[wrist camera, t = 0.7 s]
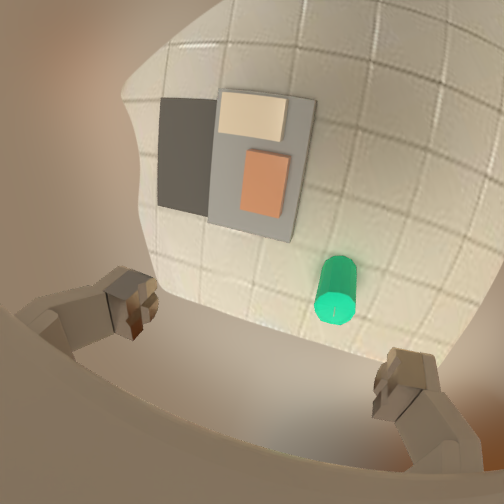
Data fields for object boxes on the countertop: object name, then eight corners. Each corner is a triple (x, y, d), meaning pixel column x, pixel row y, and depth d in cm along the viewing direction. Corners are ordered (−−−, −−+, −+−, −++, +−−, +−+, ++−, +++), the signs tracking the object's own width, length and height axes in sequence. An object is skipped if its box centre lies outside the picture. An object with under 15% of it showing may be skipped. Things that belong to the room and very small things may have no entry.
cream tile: (223, 131, 42) (217, 132, 40) (227, 92, 39) (222, 91, 37) (283, 140, 40) (279, 141, 38) (289, 99, 37) (286, 99, 35)
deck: (225, 88, 41) (218, 88, 39) (316, 100, 38) (314, 100, 36) (213, 217, 52) (207, 222, 50) (292, 236, 49) (289, 243, 47)
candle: (325, 252, 48) (316, 293, 38) (360, 259, 47) (360, 303, 37) (319, 282, 51) (308, 327, 41) (352, 289, 50) (349, 336, 40)
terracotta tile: (250, 148, 42) (246, 150, 40) (291, 156, 40) (288, 158, 39) (244, 205, 46) (239, 209, 45) (281, 213, 45) (278, 218, 43)
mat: (162, 97, 44) (160, 97, 44) (220, 100, 42) (219, 100, 42) (158, 204, 54) (157, 205, 54) (211, 216, 52) (210, 217, 52)
